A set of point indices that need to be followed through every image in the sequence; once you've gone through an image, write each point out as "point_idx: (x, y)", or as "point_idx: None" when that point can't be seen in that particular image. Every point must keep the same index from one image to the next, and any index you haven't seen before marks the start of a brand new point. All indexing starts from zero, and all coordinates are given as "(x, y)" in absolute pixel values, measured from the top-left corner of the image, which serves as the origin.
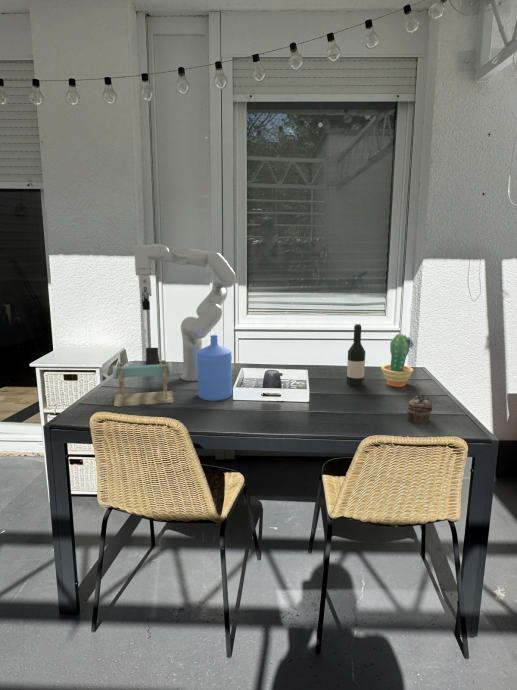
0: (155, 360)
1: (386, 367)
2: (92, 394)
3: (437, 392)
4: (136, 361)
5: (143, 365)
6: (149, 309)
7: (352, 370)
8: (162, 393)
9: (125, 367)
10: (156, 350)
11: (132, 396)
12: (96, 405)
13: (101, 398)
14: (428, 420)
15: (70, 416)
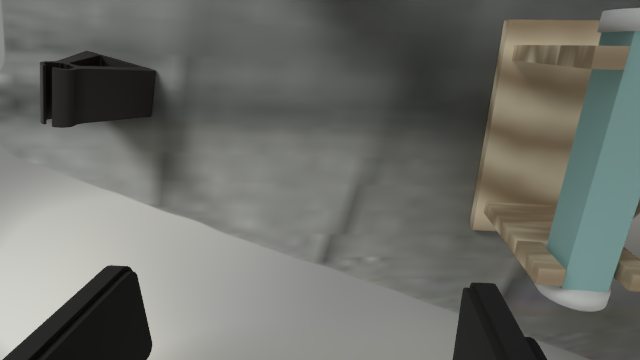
0: (114, 76)
1: None
2: (405, 288)
3: None
4: (4, 146)
5: (601, 172)
6: (493, 287)
7: None
8: (529, 63)
9: (599, 255)
10: (70, 72)
11: (518, 177)
12: (525, 277)
13: (458, 264)
14: None
15: (595, 336)
